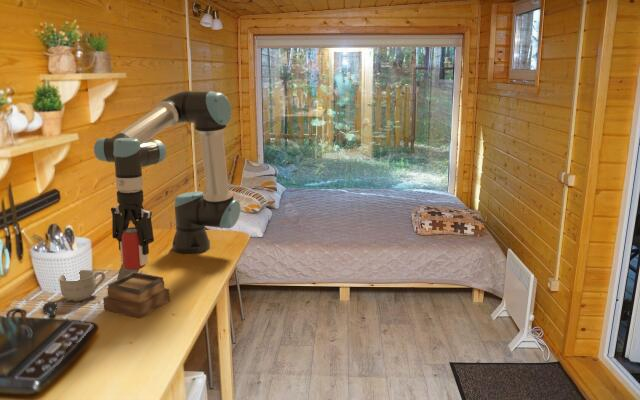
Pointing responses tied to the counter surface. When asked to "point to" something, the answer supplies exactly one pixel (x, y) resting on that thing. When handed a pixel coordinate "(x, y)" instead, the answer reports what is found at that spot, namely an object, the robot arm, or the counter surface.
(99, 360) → the counter surface
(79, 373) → the counter surface
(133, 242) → the beer can
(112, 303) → the tower base
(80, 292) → the teacup
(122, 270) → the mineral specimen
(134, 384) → the counter surface
